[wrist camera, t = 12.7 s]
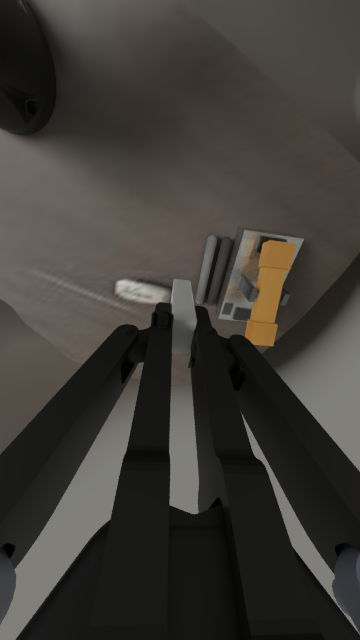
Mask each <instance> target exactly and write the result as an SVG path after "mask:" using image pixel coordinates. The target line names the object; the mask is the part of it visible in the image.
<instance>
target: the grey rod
mask: <svg viewBox="0 0 360 640" xmlns="http://www.w3.org/2000/svg"><path fill="white" fill-rule="evenodd" d="M216 244H217V237H216V236H215V235H210V236H209V237H208V240H207V245H206V250H205V255H204V260H203V265H202V270H201V274H200V279H199V284H198V289H197V294H196V303H198V304H201V303H203V300H204V296H205V292H206V287H207V283H208V279H209V274H210V270H211V265H212V261H213V257H214V252H215V248H216Z"/></svg>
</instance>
